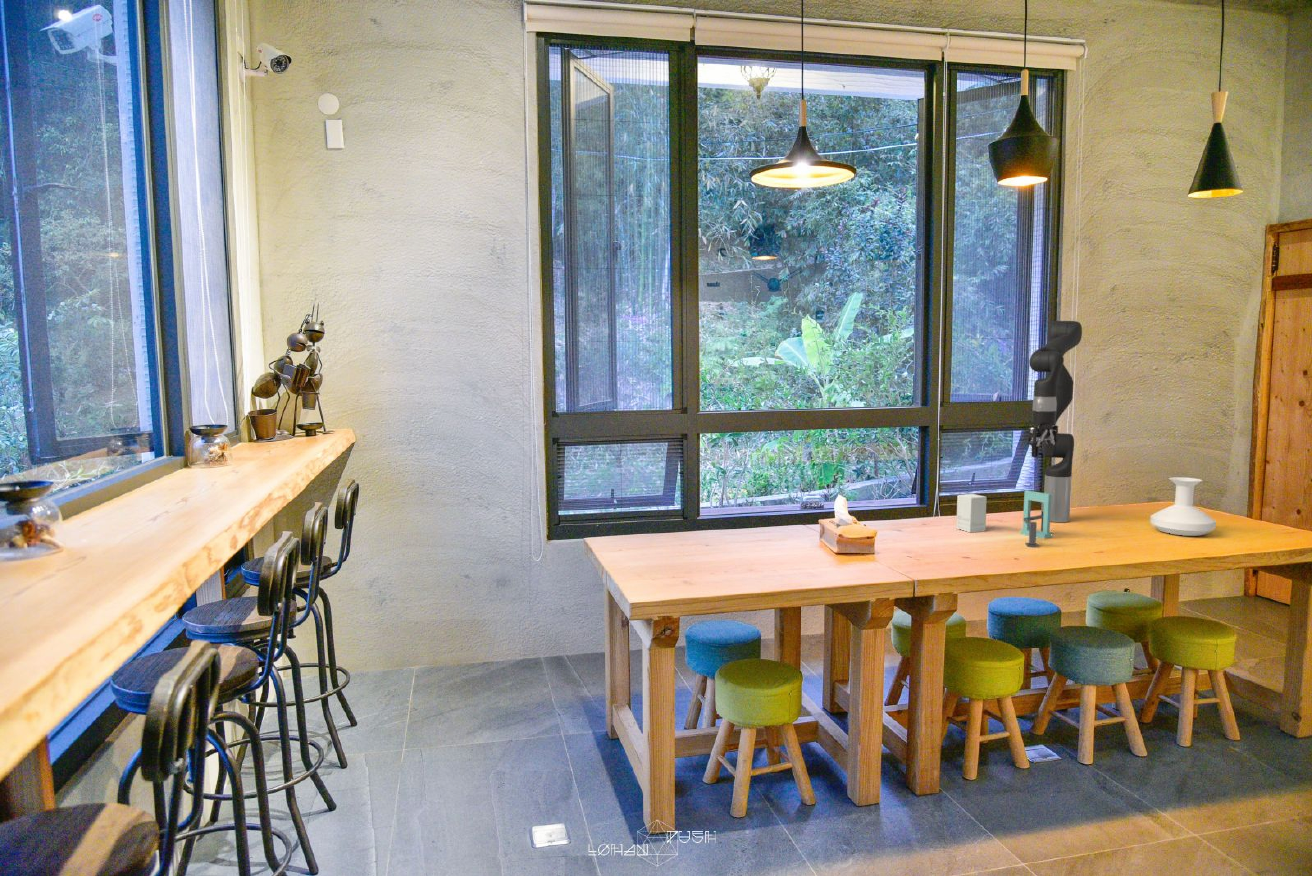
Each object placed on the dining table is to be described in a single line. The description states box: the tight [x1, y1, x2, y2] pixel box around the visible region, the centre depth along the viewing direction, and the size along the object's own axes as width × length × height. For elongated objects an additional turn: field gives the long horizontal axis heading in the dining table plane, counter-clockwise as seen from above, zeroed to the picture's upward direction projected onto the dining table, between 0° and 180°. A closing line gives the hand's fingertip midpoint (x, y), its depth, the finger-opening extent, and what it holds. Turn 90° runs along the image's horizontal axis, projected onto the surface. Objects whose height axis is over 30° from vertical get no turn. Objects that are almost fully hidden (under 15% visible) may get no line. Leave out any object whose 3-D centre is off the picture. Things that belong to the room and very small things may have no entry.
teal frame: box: [1020, 490, 1053, 539], centre depth 307 cm, size 4×9×15 cm, turn 34°
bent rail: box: [1024, 511, 1053, 548], centre depth 303 cm, size 8×26×8 cm, turn 146°
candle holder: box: [1149, 476, 1217, 537], centre depth 312 cm, size 20×20×19 cm
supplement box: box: [956, 493, 987, 533], centre depth 317 cm, size 7×7×13 cm
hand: (1042, 456), depth 305 cm, fingers open, 8 cm apart
